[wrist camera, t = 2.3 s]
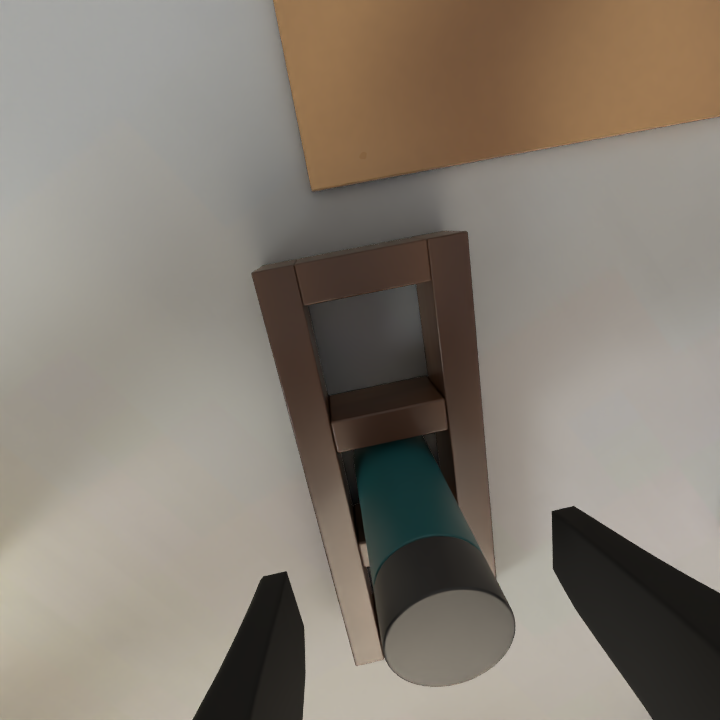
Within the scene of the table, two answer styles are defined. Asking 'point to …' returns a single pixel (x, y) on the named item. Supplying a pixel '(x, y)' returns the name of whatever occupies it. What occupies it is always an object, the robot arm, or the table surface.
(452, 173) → the table surface
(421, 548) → the teal capped bottle
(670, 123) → the cork mat
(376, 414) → the pen stand
